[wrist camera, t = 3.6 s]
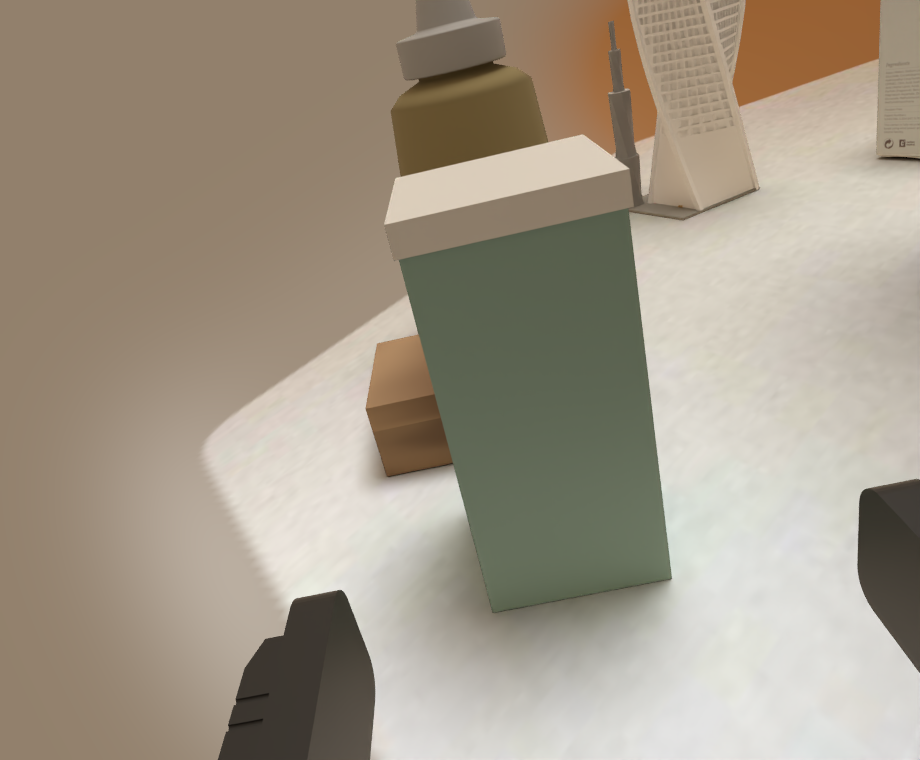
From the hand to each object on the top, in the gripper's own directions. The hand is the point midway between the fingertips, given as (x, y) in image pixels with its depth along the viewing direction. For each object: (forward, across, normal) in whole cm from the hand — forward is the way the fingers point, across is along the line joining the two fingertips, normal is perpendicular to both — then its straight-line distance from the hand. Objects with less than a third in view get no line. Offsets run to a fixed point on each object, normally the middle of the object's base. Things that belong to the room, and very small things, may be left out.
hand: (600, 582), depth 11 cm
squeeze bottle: (+26, 0, +7) cm, 27 cm away
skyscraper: (+43, -15, +7) cm, 46 cm away
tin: (+9, 0, +6) cm, 11 cm away
